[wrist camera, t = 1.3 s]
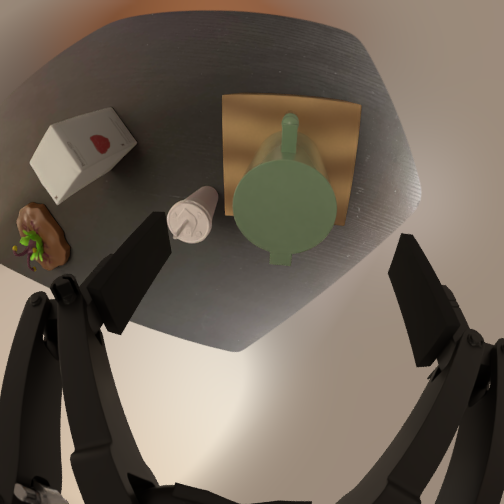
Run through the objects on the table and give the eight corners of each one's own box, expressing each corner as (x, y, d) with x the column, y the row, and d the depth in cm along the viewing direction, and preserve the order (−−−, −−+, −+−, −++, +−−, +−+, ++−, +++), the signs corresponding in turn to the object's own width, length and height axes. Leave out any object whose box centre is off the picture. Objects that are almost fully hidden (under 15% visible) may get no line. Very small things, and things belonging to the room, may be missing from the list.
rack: (243, 92, 34) (221, 94, 24) (341, 99, 32) (361, 105, 22) (243, 180, 42) (225, 215, 32) (332, 188, 40) (344, 226, 30)
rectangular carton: (139, 142, 40) (82, 173, 28) (110, 171, 44) (57, 207, 31) (112, 105, 36) (49, 123, 24) (85, 136, 40) (27, 163, 28)
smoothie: (225, 178, 42) (196, 218, 30) (227, 213, 45) (203, 263, 34) (187, 178, 43) (148, 217, 31) (192, 213, 46) (159, 260, 35)
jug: (257, 105, 24) (230, 118, 14) (325, 110, 23) (348, 127, 13) (255, 198, 30) (233, 263, 20) (316, 204, 29) (325, 272, 19)
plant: (41, 190, 48) (9, 213, 39) (79, 255, 58) (53, 284, 49) (15, 216, 54) (-10, 236, 45) (47, 269, 64) (26, 293, 55)
